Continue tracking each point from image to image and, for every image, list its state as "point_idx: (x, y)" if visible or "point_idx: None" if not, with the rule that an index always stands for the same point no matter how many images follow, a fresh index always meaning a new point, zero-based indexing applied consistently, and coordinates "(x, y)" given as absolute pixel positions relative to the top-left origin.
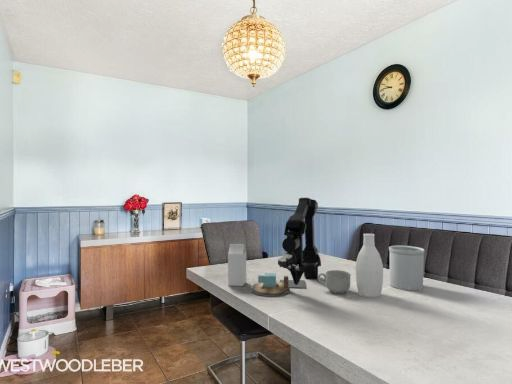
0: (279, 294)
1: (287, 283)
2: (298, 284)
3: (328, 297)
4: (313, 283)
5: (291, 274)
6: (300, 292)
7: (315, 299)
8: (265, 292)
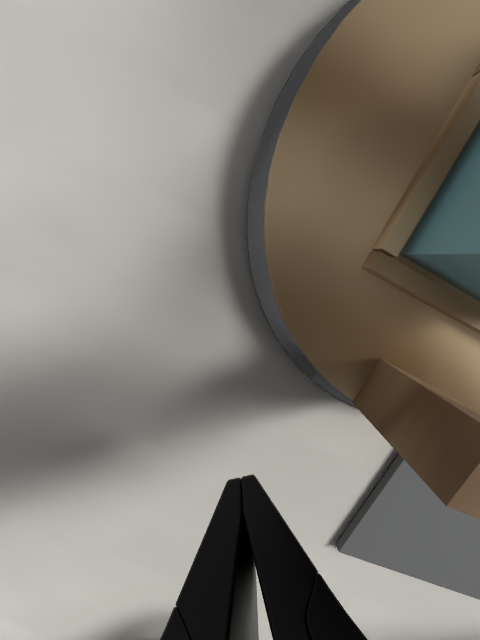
0: (247, 232)
1: (384, 419)
2: (442, 531)
3: (58, 593)
4: (413, 629)
5: (352, 631)
6: (260, 462)
7: (36, 493)
8: (331, 39)
